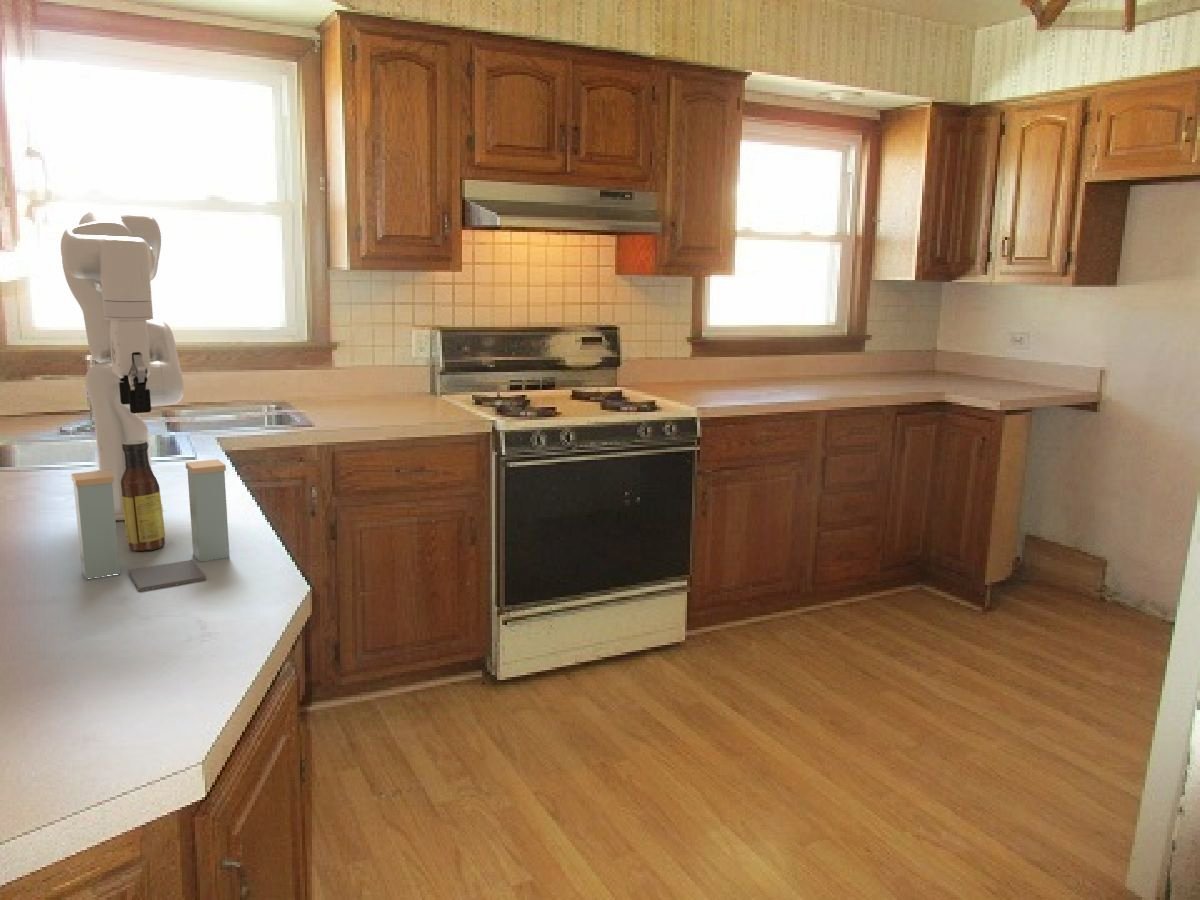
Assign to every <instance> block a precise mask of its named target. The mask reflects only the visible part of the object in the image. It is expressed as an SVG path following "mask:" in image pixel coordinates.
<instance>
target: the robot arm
mask: <svg viewBox="0 0 1200 900" xmlns="http://www.w3.org/2000/svg"><path fill="white" fill-rule="evenodd" d="M161 234H162V233H161V229H160V226H159V224H158V222H157V219H155V218H154V216H153V215H152V214H149V213H147V212H144V211H143V212H142V211H131V210H130V211H129V210H126V211H125V210H115V209H114V210H111V209H110V210H109V209H98V210H92V211H88V212H87V213H85V215H83V216H82V217H81V219H80V220H79V223H78V225H75V226H72V227H69V228H66V229H65V231H64V232H63V234H62V236H61V241H60V253H61V254H60V255H61V261H62V269H63V274H64V277H65V280H66V283H67V286H68V288H69V290H70V292H71V293H72V295H73V297H74V299H75V300H76V301H77V303H78V305H79V307H80V308H81V311H82V314H83V320H84V326H85V327H84V328H85V332H86V337H87V338H86V339H87V343H88V348H89V352H90V355H91V357H92V359H93V360H94V361H95V362H96V364H93V365H92V366H91V367H89V369H88V370H87V372H86V375H85V384H86V390H87V393H88V397H89V401H90V406H91V411H92V415H93V422H94V430H95V439H96V451H97V458H98V459H97V460H98V471H104V470H109V472H110V473H111V474H112V476H113V479H114V483H112V486H113V497H114V509H115V521H125V518H124V510H123V502H122V488H121V479H122V476H123V474H124V472H125V469H126V465H125V463H126V462H125V454H124V451H123V448H122V443H124V442H127V441H133V440H145V441H147V443H148V450H147V452H148V461H149V465H150V467H151V468H152V460H151V459H152V457H151V446H150V432H149V429H148V426H147V423H145V421H144V420H143V419H142V418H140V417H139V415H137V414H142V413H143V414H144V413H145V414H146V413H151V412H152V407H165V406H172V405H176V404H178V403H180V401H181V400H182V399H183V397H184V392H185V385H184V378H183V373H182V368H181V364H180V359H179V355H178V349H177V346H176V341H175V337H174V333H173V331H172V329H171V326H169V324H168V323H166V322H164V321H163V320H160V319H154V316H153V315H154V314H153V313H154V312H153V301H152V288H151V287H152V286H151V285H152V284H151V281H152V280H154V279H155V278H156V275H157V272H158V266H159V259H160V255H161V248H162V235H161ZM163 509H164V508H163V506H162V510H163Z"/></svg>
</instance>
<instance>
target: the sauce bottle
mask: <svg viewBox="0 0 1200 900" xmlns="http://www.w3.org/2000/svg"><path fill="white" fill-rule="evenodd" d="M122 448H123V451H124V454H125V462H126V463H125V465H126V469H125V472H124V474H123V476H122V479H121V488H122V502H123V510H124V518H125V520H124V524H125V530H126V533H125V534H126V540H127V541H126V542H128V547H129V549H130V550H131V551H136V550H139V551H138V552H144V550H145V552H147V551H146V550H149V551H154V550H153V549H155V550H157V548H158V549H160V548H162V547H163V546H164V545H165V544H166V540H165V536H166V531H165V523H164V515H163V514H164V513H163V509H162V507H163V504H162V497H161V490H160V485H159V482H158V480H157V478H156V476H155V474H154V473H153V469H152V466H151V467H150V465H149V461H148V452H147V450H148V443H147V441H145V440H133V441H127V442H124V443H122Z"/></svg>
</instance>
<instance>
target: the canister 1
mask: <svg viewBox="0 0 1200 900" xmlns="http://www.w3.org/2000/svg"><path fill="white" fill-rule="evenodd" d="M70 477H71V481H72V483H73V490H74V491H73V492H74V502H75V513H76V521H77V523H76V524H77V532H78V533H77V535H78V542H79V543H78V545H79V553H80V556H79V557H80V563H81V572H83V573H82V575H83V574H84V575H83V577H84V576H85V577H84V579H85V578H86V579H88V578H95V577H102V576H107V575H113V574H120V575H121V570H120V558H119V548H118V546H119V545H118V535H117V534H118V533H117V522H116V521H117V520H115V509H114V497H113V486H112V483H114V479H113V476H112V474H111V473H110V472H109V470H104V471H99V470H96V471H85V472H83V471H82V472H75V473H71V474H70ZM86 579H85V580H86Z"/></svg>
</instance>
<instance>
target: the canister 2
mask: <svg viewBox="0 0 1200 900" xmlns="http://www.w3.org/2000/svg"><path fill="white" fill-rule="evenodd" d="M185 469H187V483H188V497H189V500H188V501H189V513H190V514H189V515H190V525H191V529H190V530H191V541H192V554H194V555H195V556H196V557H195V556H194V555H193V556H194V557H195V558H196V560H199V561H203V562H208V561H207V560H209V561H213V559H215V560H220V559H219V558H222V559H226V558H225V557H228V558H230V543H229V542H230V541H229V525H228V509H227V507H228V506H227V494H226V477H225V476H226V475H225V471H227V468H226V464H225V463H223V462H222V461H221V460H219V458H218V459H208V460H207V459H206V460H199V461H188V462H185ZM199 561H198V562H199Z"/></svg>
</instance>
